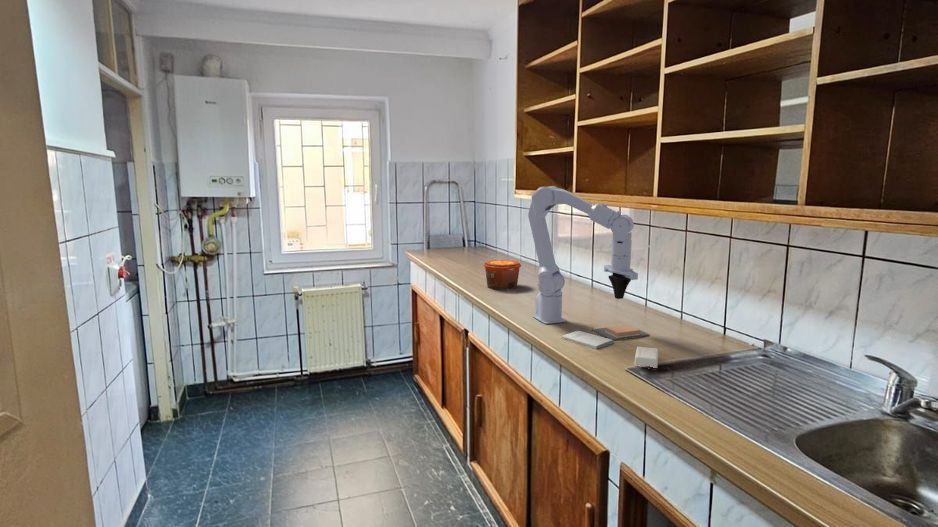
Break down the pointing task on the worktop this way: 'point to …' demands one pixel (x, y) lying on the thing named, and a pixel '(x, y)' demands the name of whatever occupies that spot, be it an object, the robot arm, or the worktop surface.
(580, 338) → the external hard drive
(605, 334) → the mat
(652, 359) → the soap
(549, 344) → the worktop surface
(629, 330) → the tile
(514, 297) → the worktop surface
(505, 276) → the food container
